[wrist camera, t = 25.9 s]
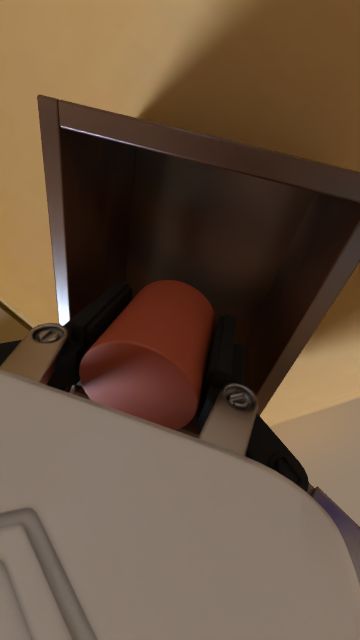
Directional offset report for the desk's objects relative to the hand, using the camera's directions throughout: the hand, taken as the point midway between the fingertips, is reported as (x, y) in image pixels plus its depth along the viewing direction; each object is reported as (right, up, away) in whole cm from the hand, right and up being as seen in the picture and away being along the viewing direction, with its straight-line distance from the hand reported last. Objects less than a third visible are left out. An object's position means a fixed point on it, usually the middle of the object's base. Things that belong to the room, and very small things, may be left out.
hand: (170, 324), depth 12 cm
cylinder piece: (0, 0, +1) cm, 1 cm away
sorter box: (+2, +4, +7) cm, 8 cm away
